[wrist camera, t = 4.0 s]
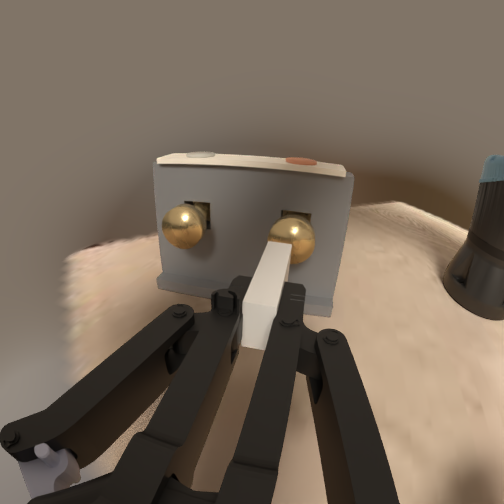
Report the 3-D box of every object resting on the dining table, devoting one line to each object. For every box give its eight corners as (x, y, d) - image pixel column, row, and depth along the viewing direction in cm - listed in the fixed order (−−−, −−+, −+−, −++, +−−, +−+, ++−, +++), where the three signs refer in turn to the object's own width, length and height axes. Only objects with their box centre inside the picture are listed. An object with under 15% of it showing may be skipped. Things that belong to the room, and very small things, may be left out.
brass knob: (278, 227, 35) (281, 193, 33) (313, 232, 34) (318, 197, 32) (266, 260, 27) (268, 217, 25) (311, 266, 27) (317, 223, 25)
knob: (195, 218, 37) (194, 186, 35) (227, 221, 36) (227, 188, 34) (163, 246, 29) (160, 206, 27) (201, 251, 29) (200, 210, 27)
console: (177, 266, 41) (169, 150, 33) (329, 289, 37) (350, 162, 30) (158, 288, 36) (144, 157, 28) (330, 317, 32) (357, 171, 24)
